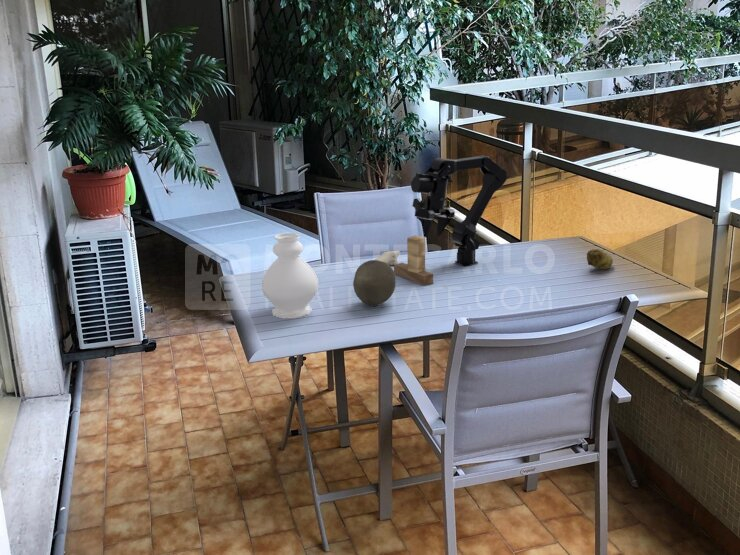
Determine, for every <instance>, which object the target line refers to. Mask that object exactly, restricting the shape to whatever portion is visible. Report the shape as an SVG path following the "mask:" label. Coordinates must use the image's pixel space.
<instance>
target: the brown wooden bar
mask: <svg viewBox="0 0 740 555" xmlns="http://www.w3.org/2000/svg"><path fill="white" fill-rule="evenodd" d="M393 271H394V273H395V276H396V275H397V276H399V277H402V278H404V279H407V280H409V281H411V282H414V283H417V284H419V285H422V286H428V285H432V284H434V273H432V272H429V271H427V270H424V271H421V272H418V273H415V272H411V271H408V263H406V262H397V264H394V265H393Z"/></svg>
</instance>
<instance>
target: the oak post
mask: <svg viewBox="0 0 740 555" xmlns="http://www.w3.org/2000/svg"><path fill="white" fill-rule="evenodd" d="M406 241H407V244H406V246H407V248H406V249H407V252H406V253H407V256H406V257H407V264H408V271H411V272H415V273H418V272H421V271H426V237H424V236H421V235H413V236H408V237H407V240H406Z"/></svg>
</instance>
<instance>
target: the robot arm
mask: <svg viewBox="0 0 740 555" xmlns="http://www.w3.org/2000/svg"><path fill="white" fill-rule="evenodd" d="M473 169H479V170H480V172H481V174H483V176H482V179H481V180H482V183H481V184H482V187H481V188H480V190H479V193H478V194H477V196H476V198H475V200H474V201H473V203H472V205H471V207H470V209H469V211H468V212H467V214H466V216H465V218H464V219H463V220H462V221H456V223H455V225H454V227H453V228H452V230H451V236H450V238H451V240H452V242H453V243H454V247H457V252H456V260H455V261H454V263H455V264H458V265H461V266H462V267H463V266H464V267H469V266H472V265H477V264H478V263H479V261H476V250H478V249H480V248H479V247H480V243H479V242H478V240H477V239H476V238H475V237H476V235H477V225H478V223H479V222H480V220H481V218H482V216H483V214H484V212H485V210H486V208H487V207H488V205H489V203H490V201H491V199H492V197H493V195H494V194H495V193H496V192H497V191H498V190H500V189H501V188H502V187H503V185H504V184H505V183H506V182H507V179H508V174H507V171H506V170H505V169H504V168H501V166H499V164H497V163H495V161H493V160H492V159H491V158H490V157H489V156H487V155H482V154H481V155H477V156H471V157H463V158H455V159H452V158H444V157H443V158H442V157H436V158H434V159H433V161H432V162H431V164H430V166H429V167H428V168H427V169H426V171H425V172H424V173H420V172H419V173H418V172H415V175H414V177H413V178H412V181H410V182H411V183H410V187H411V191H412V192H413V193H419V194H429V195H426V196H425V197H426V198H425V199H421V198H418V197H417V198H414V199H413V202H412V207H413V208H414V210H415V211H414V217H416V219H417V220H419V222H420V223H421V228H422V235H423V237H425V238H428V235H429V234H430V232H431V228H432V225H433V224H434V222H435V219H436V220H437V225H436V226H437V227H436V228H437V229H436V235H437V236H438V237H441V235H442V234H443V232H444V230H445V228H446V227H447V226H448V225H449V223H451V220H453V218H455V215H456V212H455V210H454V209H453V208H448V207H445V205H446V204H445V202H447V201H448V200H449V199H448V197H447V195H446V194H447V188H448V183H453V182H454V180H453V179H452V178H451V175H453V174H456V172H459V171H467V170H473ZM434 218H435V219H434Z"/></svg>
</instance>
